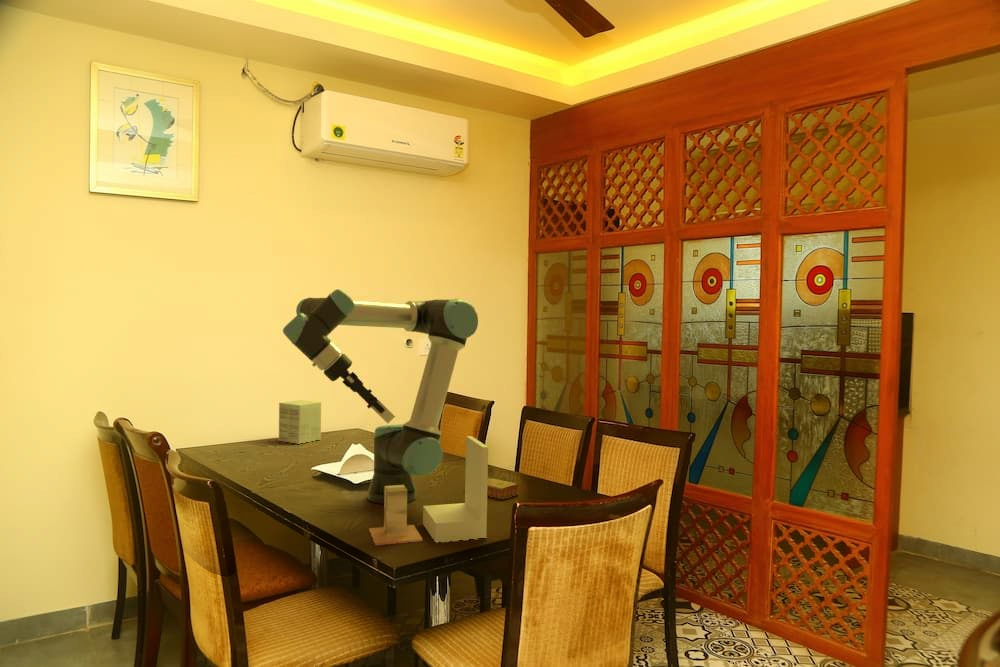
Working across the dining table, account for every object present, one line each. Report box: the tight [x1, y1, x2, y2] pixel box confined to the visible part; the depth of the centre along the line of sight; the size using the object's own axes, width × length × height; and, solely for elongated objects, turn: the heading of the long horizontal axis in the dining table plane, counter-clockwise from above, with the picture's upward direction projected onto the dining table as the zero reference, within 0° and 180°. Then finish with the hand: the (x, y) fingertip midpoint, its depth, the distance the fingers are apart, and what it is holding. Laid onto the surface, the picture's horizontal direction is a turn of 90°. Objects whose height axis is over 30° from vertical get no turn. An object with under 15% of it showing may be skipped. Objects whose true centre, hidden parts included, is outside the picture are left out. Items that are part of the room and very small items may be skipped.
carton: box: [487, 476, 519, 499], centre depth 219 cm, size 8×16×4 cm, turn 48°
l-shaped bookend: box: [422, 435, 489, 544], centre depth 179 cm, size 16×14×24 cm
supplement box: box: [278, 399, 322, 445], centre depth 299 cm, size 13×13×18 cm
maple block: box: [383, 485, 408, 538], centre depth 175 cm, size 6×5×12 cm
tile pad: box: [368, 524, 424, 546], centre depth 175 cm, size 12×12×1 cm
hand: (387, 416), depth 185 cm, fingers open, 13 cm apart
